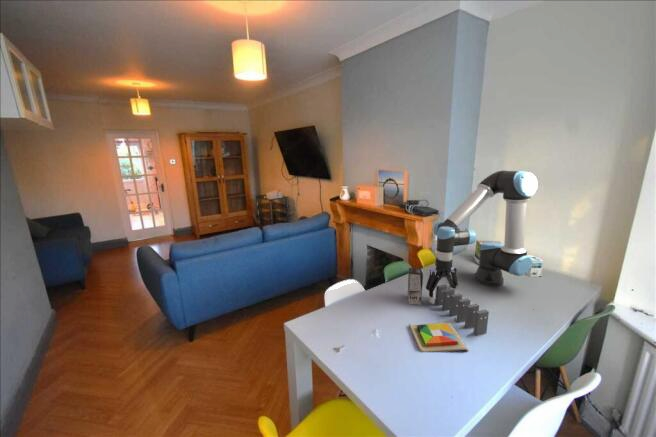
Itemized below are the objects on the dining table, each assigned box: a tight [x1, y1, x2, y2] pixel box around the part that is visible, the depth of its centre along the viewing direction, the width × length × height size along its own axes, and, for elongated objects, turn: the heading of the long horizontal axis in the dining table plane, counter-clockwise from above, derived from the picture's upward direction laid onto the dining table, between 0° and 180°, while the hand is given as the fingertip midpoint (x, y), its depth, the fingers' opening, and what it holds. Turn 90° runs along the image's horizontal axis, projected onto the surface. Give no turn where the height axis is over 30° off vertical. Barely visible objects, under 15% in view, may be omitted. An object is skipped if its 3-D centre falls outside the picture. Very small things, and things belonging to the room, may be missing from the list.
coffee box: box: [407, 267, 424, 305], centre depth 146 cm, size 9×6×16 cm
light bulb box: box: [524, 254, 544, 278], centre depth 176 cm, size 11×7×11 cm, turn 179°
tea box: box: [473, 240, 502, 265], centre depth 193 cm, size 15×10×15 cm
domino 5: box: [464, 303, 480, 330], centre depth 123 cm, size 2×5×10 cm, turn 107°
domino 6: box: [472, 309, 490, 336], centre depth 118 cm, size 2×5×10 cm, turn 107°
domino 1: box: [434, 284, 448, 307], centre depth 142 cm, size 2×5×10 cm, turn 107°
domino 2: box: [441, 288, 456, 312], centre depth 137 cm, size 2×5×10 cm, turn 107°
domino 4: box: [456, 298, 471, 323], centre depth 128 cm, size 2×5×10 cm, turn 107°
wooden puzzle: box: [408, 322, 469, 353], centre depth 117 cm, size 18×19×4 cm
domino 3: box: [448, 293, 463, 317], centre depth 132 cm, size 2×5×10 cm, turn 107°
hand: (441, 300), depth 143 cm, fingers open, 10 cm apart
